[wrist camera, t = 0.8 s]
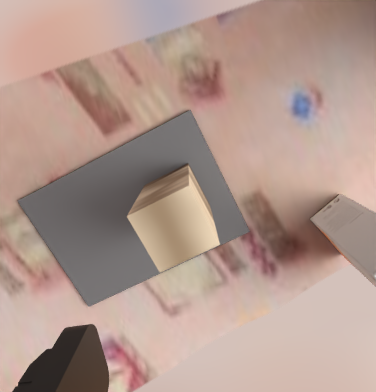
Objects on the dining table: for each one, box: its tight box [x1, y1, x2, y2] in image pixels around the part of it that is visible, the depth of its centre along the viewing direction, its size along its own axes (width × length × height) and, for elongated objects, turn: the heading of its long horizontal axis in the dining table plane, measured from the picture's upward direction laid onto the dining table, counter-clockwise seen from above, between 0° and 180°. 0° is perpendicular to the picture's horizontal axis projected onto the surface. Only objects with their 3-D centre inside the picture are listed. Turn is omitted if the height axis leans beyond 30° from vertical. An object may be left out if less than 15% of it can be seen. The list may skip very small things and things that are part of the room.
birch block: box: [127, 163, 220, 272], centre depth 28 cm, size 5×5×10 cm
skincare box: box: [310, 194, 376, 286], centre depth 28 cm, size 6×4×12 cm
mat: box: [18, 110, 250, 306], centre depth 33 cm, size 20×14×1 cm
